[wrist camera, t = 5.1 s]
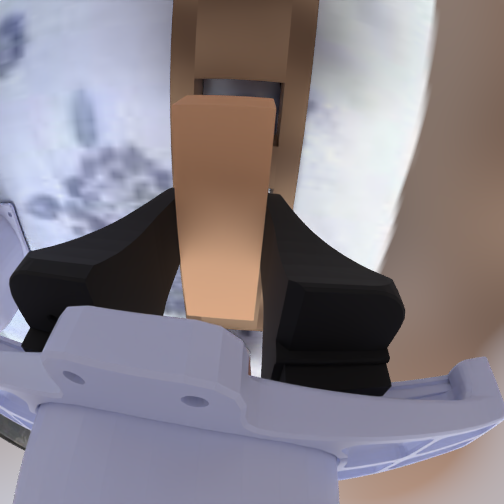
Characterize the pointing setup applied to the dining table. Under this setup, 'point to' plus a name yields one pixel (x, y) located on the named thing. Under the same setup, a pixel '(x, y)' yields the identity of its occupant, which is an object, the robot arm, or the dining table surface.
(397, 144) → the dining table surface
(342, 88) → the dining table surface
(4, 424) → the bowl
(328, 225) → the dining table surface
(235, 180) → the clip
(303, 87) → the rail
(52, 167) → the dining table surface
